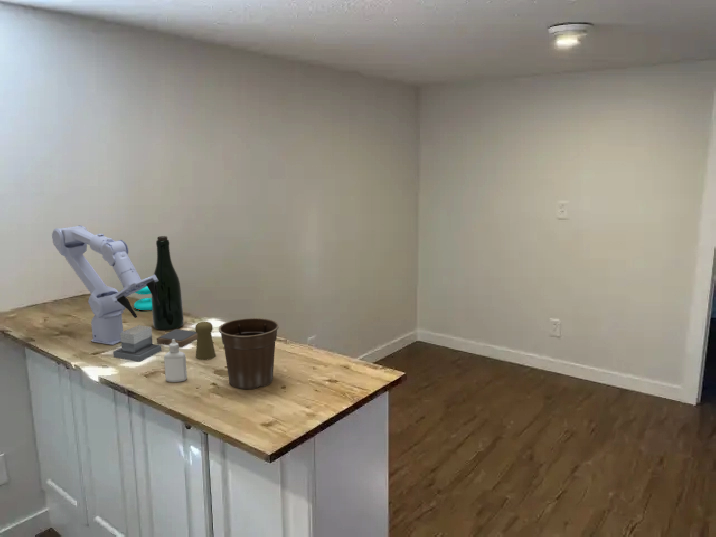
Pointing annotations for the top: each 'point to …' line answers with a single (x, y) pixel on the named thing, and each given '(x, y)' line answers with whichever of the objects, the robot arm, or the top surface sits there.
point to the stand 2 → (178, 337)
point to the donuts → (144, 300)
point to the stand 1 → (138, 353)
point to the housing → (136, 339)
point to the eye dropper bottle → (175, 364)
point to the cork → (204, 341)
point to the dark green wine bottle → (166, 290)
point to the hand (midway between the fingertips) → (147, 310)
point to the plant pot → (249, 351)
